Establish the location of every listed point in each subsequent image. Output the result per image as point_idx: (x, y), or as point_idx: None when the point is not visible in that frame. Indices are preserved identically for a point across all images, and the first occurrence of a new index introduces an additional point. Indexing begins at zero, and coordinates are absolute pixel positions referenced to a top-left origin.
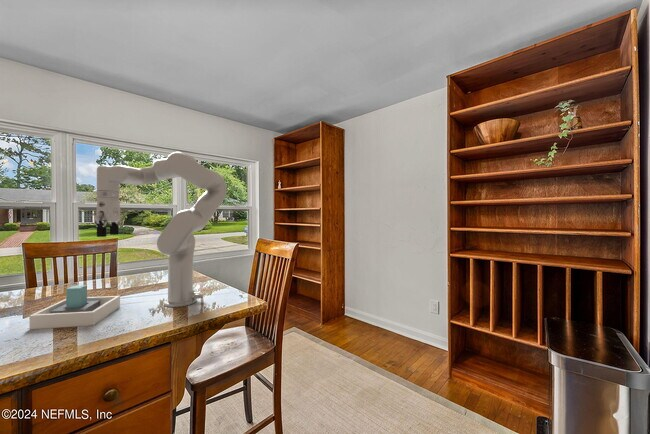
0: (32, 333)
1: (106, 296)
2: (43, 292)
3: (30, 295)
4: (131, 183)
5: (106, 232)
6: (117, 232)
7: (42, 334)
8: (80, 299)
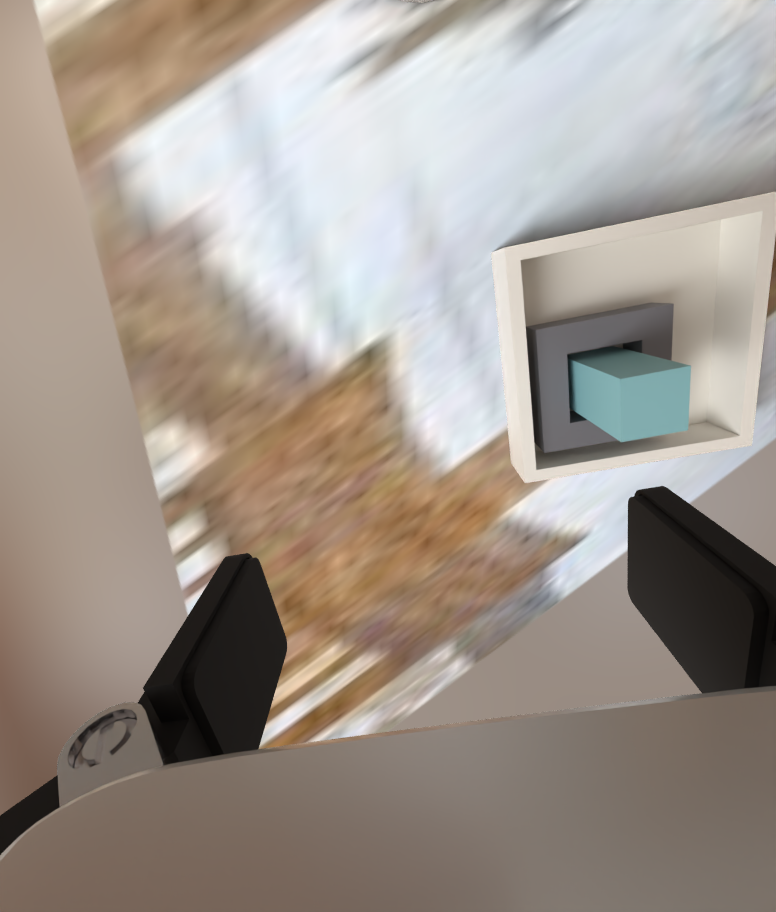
0: None
1: (513, 317)
2: (301, 694)
3: (339, 703)
4: None
5: (684, 520)
6: (245, 574)
7: (770, 347)
8: (646, 357)
